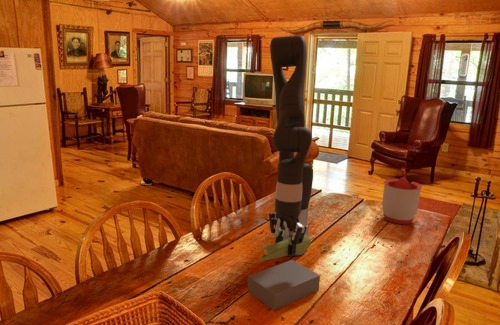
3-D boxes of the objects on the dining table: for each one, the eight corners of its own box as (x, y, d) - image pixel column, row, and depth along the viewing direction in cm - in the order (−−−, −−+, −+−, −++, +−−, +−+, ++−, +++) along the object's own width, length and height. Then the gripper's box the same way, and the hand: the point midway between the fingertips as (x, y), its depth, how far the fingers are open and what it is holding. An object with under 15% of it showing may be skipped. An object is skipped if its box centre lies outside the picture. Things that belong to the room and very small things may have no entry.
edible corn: (317, 238, 120) (307, 229, 124) (260, 254, 110) (252, 244, 113) (312, 251, 123) (303, 242, 126) (257, 268, 113) (249, 258, 116)
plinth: (291, 273, 132) (292, 259, 130) (318, 290, 123) (320, 275, 121) (247, 291, 121) (248, 275, 120) (273, 310, 112) (274, 294, 111)
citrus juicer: (420, 217, 186) (426, 175, 181) (412, 229, 171) (419, 184, 166) (385, 210, 194) (390, 169, 189) (375, 221, 179) (380, 177, 174)
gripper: (316, 201, 111) (311, 258, 115) (281, 188, 122) (278, 240, 126) (296, 206, 107) (292, 265, 111) (262, 192, 118) (259, 246, 122)
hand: (284, 251), depth 119 cm, fingers closed on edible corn, 4 cm apart
